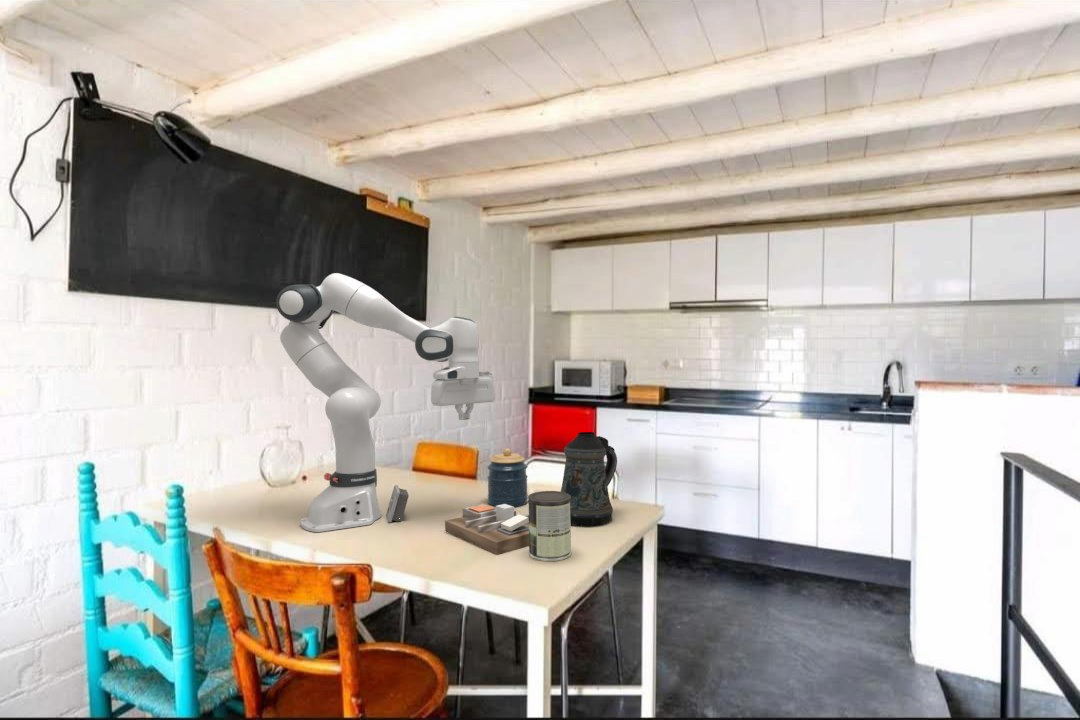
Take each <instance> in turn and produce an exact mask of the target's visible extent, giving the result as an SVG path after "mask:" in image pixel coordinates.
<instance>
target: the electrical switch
mask: <svg viewBox="0 0 1080 720" xmlns="http://www.w3.org/2000/svg"><path fill="white" fill-rule="evenodd" d="M408 500H409V493H408V490H407V489H403V488H399V485H396V484H395V485H394V486H393V490H392V493H391V496H390V499H389V503H388V507H387V510H386V517H387V519H386V520H387V522H388V523H391V524H392V522H393V521H394V522H403V517H404V515H405V511H406V507H407V504H408V503H407V502H408ZM399 518H400V519H399Z"/></svg>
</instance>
